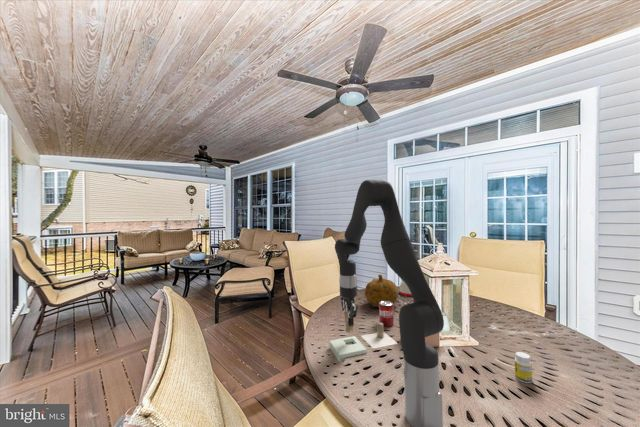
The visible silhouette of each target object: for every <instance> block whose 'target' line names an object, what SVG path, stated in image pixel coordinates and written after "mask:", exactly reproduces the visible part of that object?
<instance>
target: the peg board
mask: <svg viewBox="0 0 640 427" xmlns="http://www.w3.org/2000/svg"><path fill="white" fill-rule="evenodd" d="M349 343H353V344H349ZM329 348H330V350H331V352H332V354H334V356H335V358H336V359H337V360H338V362H339V363H344V362H346V360H345V359H346V358H349V357H351V358H352V357H354V356H355V357H356V356H360V355H364V354H367V353H368V349H367V348H366V346H364V344H363V343H362V342H361V341H360V340H359V339H358V338H357V337H356V336H355V335H353V336H348V337H343V338H336V339H332V340H329Z"/></svg>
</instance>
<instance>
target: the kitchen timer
mask: <svg viewBox="0 0 640 427" xmlns="http://www.w3.org/2000/svg"><path fill="white" fill-rule="evenodd" d="M398 292H399V294H400V295H402V296H405V297H412V294H411V292H410V290H409V288H408V286H407V285H406V284H405V282H404V281H403V280H402V281H401V282H400V284H399V289H398Z"/></svg>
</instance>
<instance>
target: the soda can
mask: <svg viewBox="0 0 640 427" xmlns="http://www.w3.org/2000/svg"><path fill="white" fill-rule="evenodd" d="M394 308H395V307H394V305H393V303H392V302H389V301H381V302H380V303H379V307H378V322H381V323H383V328H384V327H385V328H390V327H394V326H395V317H394V316H395V314H394V313H395V312H394V310H395V309H394Z"/></svg>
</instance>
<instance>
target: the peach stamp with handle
mask: <svg viewBox="0 0 640 427" xmlns="http://www.w3.org/2000/svg"><path fill="white" fill-rule="evenodd" d="M425 344H428V345H430V346H432V347H433V348H435V347H440V332H439V333H437V334H434V335H431V336H427V337H425Z"/></svg>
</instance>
